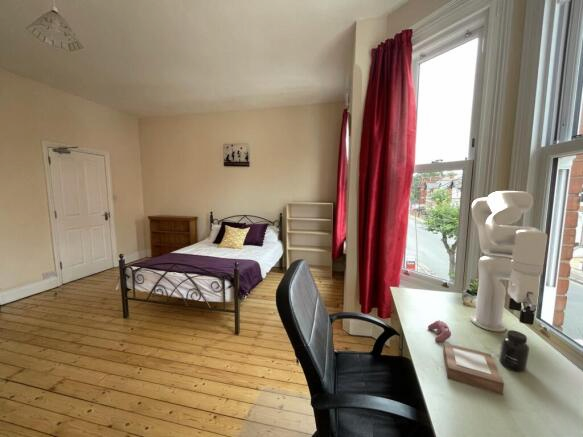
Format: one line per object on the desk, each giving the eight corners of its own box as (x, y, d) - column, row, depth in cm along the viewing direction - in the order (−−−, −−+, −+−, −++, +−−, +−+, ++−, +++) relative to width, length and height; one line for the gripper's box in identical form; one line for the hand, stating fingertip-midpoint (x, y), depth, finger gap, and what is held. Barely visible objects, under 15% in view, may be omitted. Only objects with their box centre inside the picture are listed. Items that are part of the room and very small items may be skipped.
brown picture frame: (443, 352, 91) (444, 342, 91) (489, 364, 85) (491, 353, 84) (447, 378, 79) (448, 367, 78) (502, 395, 73) (504, 382, 72)
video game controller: (445, 347, 96) (455, 333, 95) (434, 341, 97) (444, 327, 95) (435, 332, 106) (445, 320, 104) (426, 327, 106) (435, 314, 105)
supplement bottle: (504, 370, 82) (509, 337, 81) (496, 356, 89) (499, 326, 87) (530, 375, 80) (535, 342, 78) (519, 361, 86) (524, 330, 85)
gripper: (503, 259, 89) (497, 303, 91) (521, 273, 73) (515, 326, 75) (530, 261, 85) (524, 307, 87) (555, 277, 70) (547, 332, 72)
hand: (520, 316), depth 81 cm, fingers open, 9 cm apart
